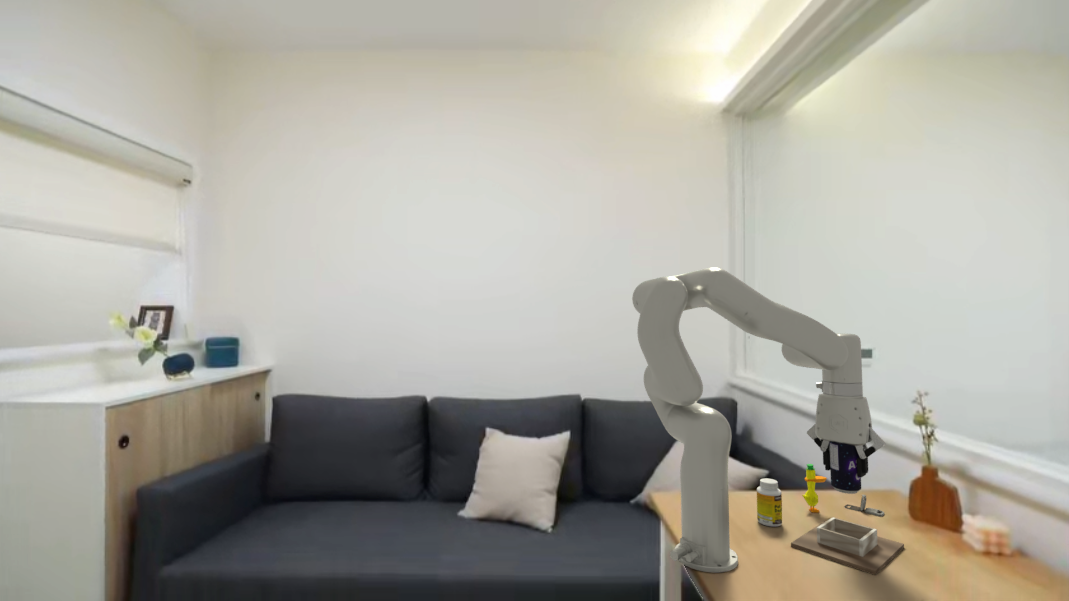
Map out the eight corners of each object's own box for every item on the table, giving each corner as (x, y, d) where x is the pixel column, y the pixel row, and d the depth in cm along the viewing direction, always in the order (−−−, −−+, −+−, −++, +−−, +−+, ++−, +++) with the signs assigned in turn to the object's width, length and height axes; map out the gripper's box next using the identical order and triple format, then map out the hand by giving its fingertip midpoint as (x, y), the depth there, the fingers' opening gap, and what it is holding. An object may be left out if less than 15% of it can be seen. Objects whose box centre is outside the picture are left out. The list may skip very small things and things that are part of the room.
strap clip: (885, 515, 128) (884, 498, 128) (881, 518, 125) (881, 501, 126) (847, 506, 134) (846, 489, 134) (843, 508, 132) (843, 492, 132)
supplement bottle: (777, 529, 119) (776, 486, 119) (753, 523, 123) (752, 480, 123) (786, 523, 122) (784, 480, 123) (762, 516, 126) (761, 475, 127)
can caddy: (875, 575, 98) (874, 554, 98) (790, 546, 110) (790, 528, 110) (904, 547, 109) (903, 528, 109) (824, 524, 121) (824, 507, 121)
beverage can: (851, 496, 106) (849, 439, 106) (825, 488, 111) (823, 434, 111) (867, 492, 109) (865, 436, 109) (840, 484, 114) (839, 431, 114)
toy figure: (822, 508, 132) (821, 462, 132) (831, 513, 128) (830, 466, 128) (798, 509, 131) (796, 462, 132) (806, 514, 128) (805, 466, 128)
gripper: (794, 387, 115) (797, 467, 114) (882, 395, 102) (885, 486, 101) (808, 384, 120) (811, 460, 119) (894, 391, 106) (897, 478, 106)
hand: (845, 471), depth 110 cm, fingers closed on beverage can, 5 cm apart
